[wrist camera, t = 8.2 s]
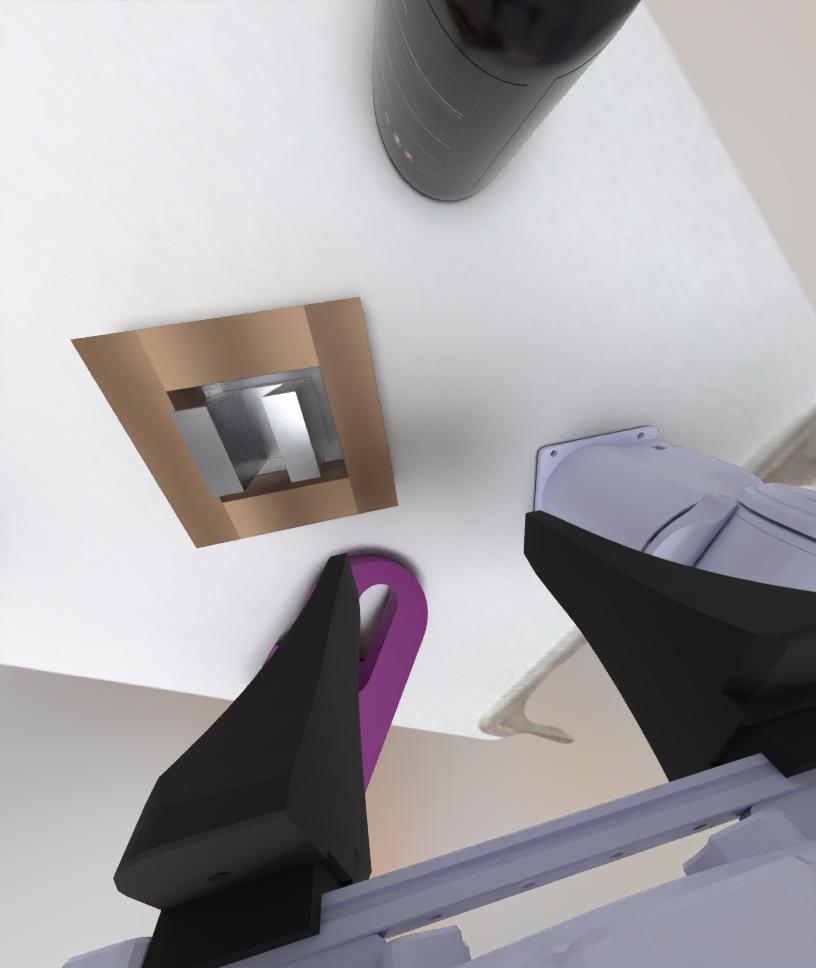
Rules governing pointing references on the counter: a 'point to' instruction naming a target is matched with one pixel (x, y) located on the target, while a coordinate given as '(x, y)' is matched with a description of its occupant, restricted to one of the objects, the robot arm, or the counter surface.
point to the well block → (237, 355)
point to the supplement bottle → (477, 80)
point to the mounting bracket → (385, 650)
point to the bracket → (255, 433)
